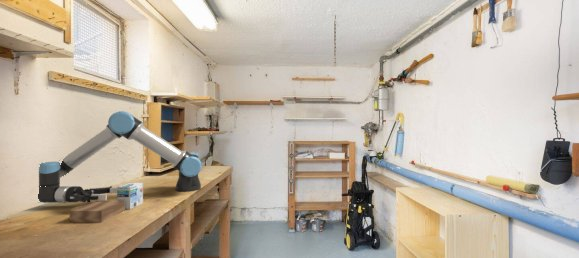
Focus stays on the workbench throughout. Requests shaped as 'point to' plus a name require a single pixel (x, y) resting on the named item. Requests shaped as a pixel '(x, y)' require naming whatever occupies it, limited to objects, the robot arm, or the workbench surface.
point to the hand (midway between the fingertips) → (115, 193)
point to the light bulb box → (130, 194)
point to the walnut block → (97, 211)
